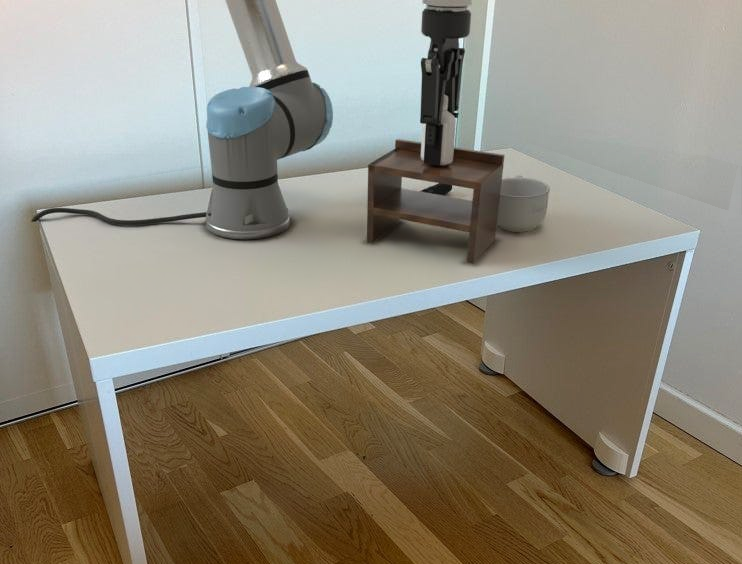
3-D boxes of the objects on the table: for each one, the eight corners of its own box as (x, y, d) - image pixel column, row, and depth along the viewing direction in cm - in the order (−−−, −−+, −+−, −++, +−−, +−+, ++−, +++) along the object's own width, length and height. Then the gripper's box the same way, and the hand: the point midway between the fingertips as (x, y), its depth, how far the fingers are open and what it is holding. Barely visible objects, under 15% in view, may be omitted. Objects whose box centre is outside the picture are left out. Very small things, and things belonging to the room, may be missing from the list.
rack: (366, 242, 134) (368, 155, 126) (394, 221, 143) (397, 138, 135) (473, 264, 127) (482, 173, 119) (495, 240, 136) (504, 154, 128)
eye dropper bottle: (431, 167, 125) (436, 92, 118) (417, 158, 129) (421, 84, 123) (455, 165, 126) (461, 90, 120) (440, 155, 131) (446, 83, 124)
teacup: (539, 240, 137) (545, 197, 132) (480, 232, 139) (485, 190, 135) (549, 215, 148) (555, 175, 144) (495, 208, 151) (499, 168, 146)
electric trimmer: (456, 195, 157) (457, 180, 156) (414, 214, 147) (414, 198, 145) (441, 191, 159) (442, 176, 158) (398, 209, 149) (399, 194, 147)
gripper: (450, 15, 107) (439, 177, 120) (487, 4, 120) (474, 151, 133) (402, 11, 110) (396, 170, 122) (443, 1, 123) (434, 145, 135)
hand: (436, 160), depth 128 cm, fingers closed on eye dropper bottle, 4 cm apart
